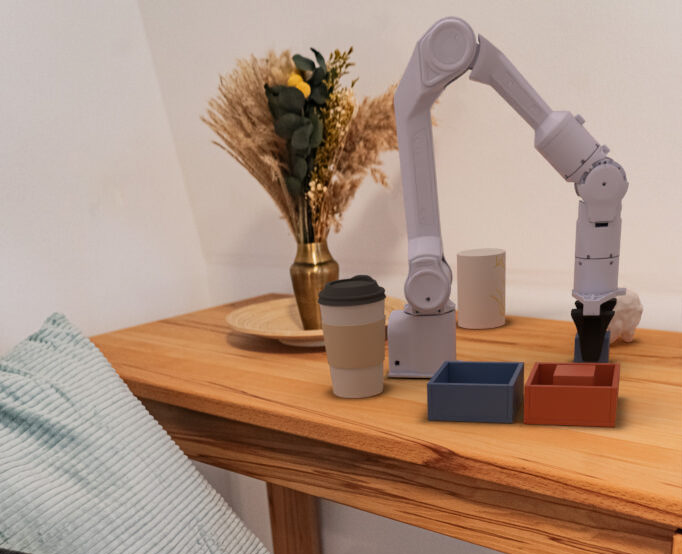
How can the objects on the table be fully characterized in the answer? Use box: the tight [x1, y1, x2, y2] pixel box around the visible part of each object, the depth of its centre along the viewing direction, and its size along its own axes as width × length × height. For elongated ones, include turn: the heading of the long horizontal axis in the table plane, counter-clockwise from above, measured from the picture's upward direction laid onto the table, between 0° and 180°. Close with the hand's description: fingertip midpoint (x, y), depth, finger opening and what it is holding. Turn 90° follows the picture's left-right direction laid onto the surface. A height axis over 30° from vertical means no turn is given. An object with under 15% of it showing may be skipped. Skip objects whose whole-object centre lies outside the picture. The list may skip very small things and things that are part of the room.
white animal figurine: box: [607, 285, 644, 345], centre depth 129 cm, size 6×8×12 cm
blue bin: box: [426, 360, 525, 424], centre depth 104 cm, size 10×10×5 cm
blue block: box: [573, 330, 611, 363], centre depth 117 cm, size 4×4×4 cm
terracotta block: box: [553, 365, 596, 386], centre depth 100 cm, size 4×4×4 cm
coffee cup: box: [317, 274, 387, 399], centre depth 112 cm, size 9×9×15 cm
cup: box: [456, 247, 507, 330], centre depth 144 cm, size 8×8×12 cm
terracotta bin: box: [523, 361, 621, 428], centre depth 100 cm, size 10×10×5 cm
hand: (591, 356), depth 117 cm, fingers closed on blue block, 4 cm apart
